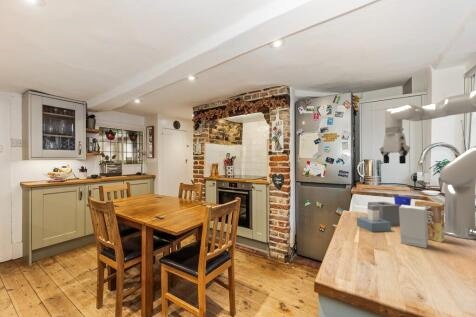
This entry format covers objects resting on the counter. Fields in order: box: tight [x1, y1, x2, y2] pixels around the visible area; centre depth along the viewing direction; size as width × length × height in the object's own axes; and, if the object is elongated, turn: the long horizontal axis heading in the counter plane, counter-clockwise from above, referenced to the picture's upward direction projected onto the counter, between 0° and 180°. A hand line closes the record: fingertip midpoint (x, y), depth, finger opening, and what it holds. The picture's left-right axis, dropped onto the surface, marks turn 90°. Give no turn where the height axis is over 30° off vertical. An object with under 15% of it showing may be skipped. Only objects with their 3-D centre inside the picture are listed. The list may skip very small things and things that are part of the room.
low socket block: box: [356, 216, 392, 233], centre depth 107 cm, size 10×10×4 cm
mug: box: [393, 195, 412, 206], centre depth 132 cm, size 8×12×10 cm
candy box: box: [414, 199, 446, 243], centre depth 93 cm, size 9×4×15 cm, turn 33°
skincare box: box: [399, 205, 429, 249], centre depth 87 cm, size 8×6×15 cm
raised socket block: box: [367, 201, 400, 227], centre depth 116 cm, size 10×10×10 cm
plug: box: [367, 204, 379, 221], centre depth 107 cm, size 3×3×10 cm
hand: (394, 163), depth 118 cm, fingers open, 9 cm apart
